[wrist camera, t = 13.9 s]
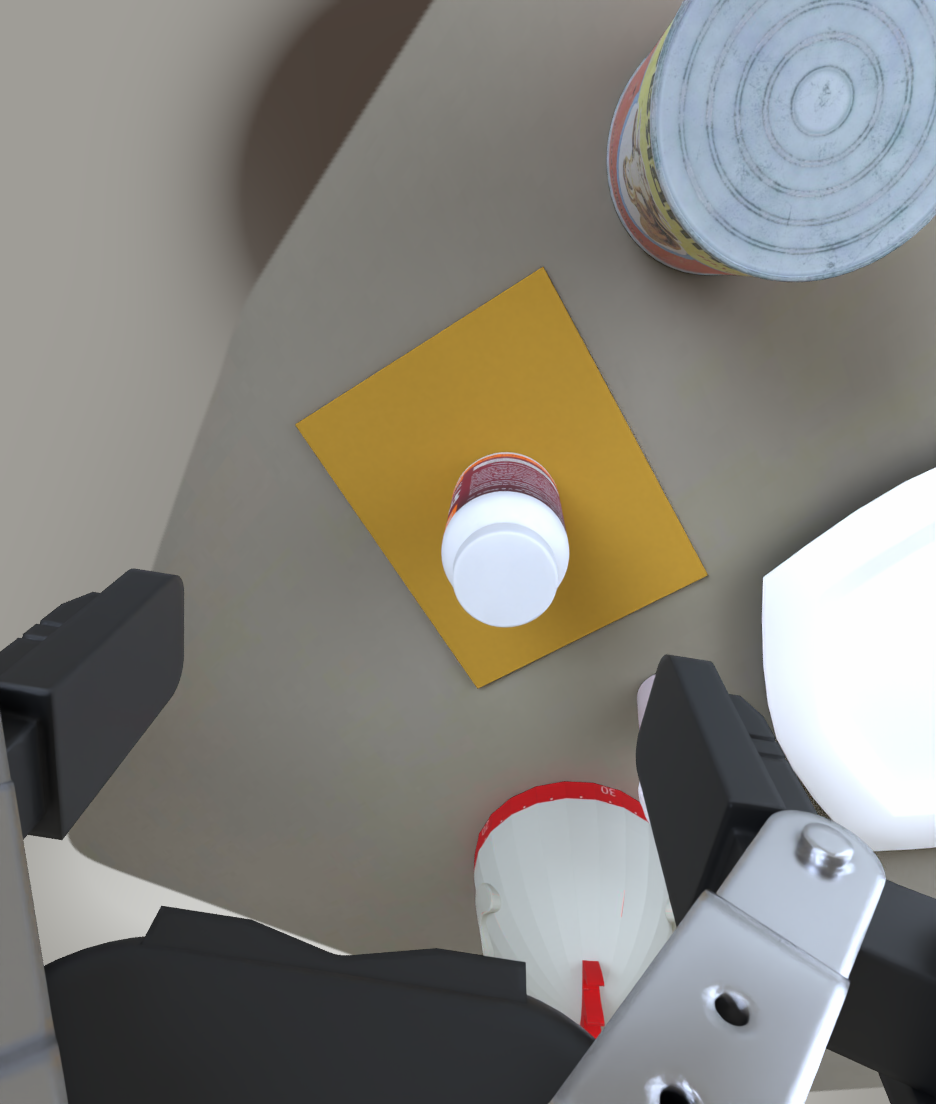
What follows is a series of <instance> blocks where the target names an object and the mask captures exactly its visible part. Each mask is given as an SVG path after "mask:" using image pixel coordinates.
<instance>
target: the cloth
mask: <svg viewBox="0 0 936 1104" xmlns="http://www.w3.org/2000/svg"><path fill="white" fill-rule="evenodd" d="M296 427H297V428H298V430H299V431H300V433H301V434H302V436H303V437H304V438H305V440H306V441H307V443H308V444H309V446H310V447H311V449H312V450H313V451H314V453H315V454H316V456H317V457H318V459H319V460H320V462H321V463H322V464H323V466H324V467H325V469H326V470H327V472H328V473H329V475H330V476H331V477H332V479H333V480H334V482H335V483H336V485H337V486H338V488H339V489H340V490H341V492H342V493H343V495H344V496H345V498H346V499H347V501H348V502H349V503H350V505H351V506H352V508H353V509H354V511H355V512H356V514H357V515H358V516H359V518H360V519H361V521H362V522H363V524H364V525H365V527H366V528H367V529H368V531H369V532H370V534H371V535H372V537H373V538H374V540H375V541H376V543H377V544H378V545H379V547H380V548H381V550H382V551H383V553H384V554H385V556H386V557H387V558H388V560H389V561H390V563H391V564H392V566H393V567H394V569H395V570H396V571H397V573H398V574H399V576H400V577H401V579H402V580H403V582H404V583H405V584H406V586H407V587H408V589H409V590H410V592H411V593H412V595H413V596H414V597H415V599H416V600H417V602H418V603H419V605H420V606H421V608H422V609H423V610H424V612H425V613H426V615H427V616H428V618H429V619H430V621H431V622H432V623H433V625H434V626H435V628H436V629H437V631H438V632H439V634H440V635H441V636H442V638H443V639H444V641H445V642H446V644H447V645H448V647H449V648H450V650H451V651H452V652H453V654H454V655H455V657H456V658H457V660H458V661H459V663H460V664H461V665H462V667H463V668H464V670H465V671H466V673H467V674H468V676H469V677H470V678H471V680H472V681H473V683H474V684H475V686H476V687H477V689H478V688H480V687H482V686H484V685H486V684H488V683H490V682H493V681H495V680H497V679H499V678H501V677H503V676H505V675H507V674H509V673H511V672H513V671H515V670H517V669H519V668H521V667H523V666H525V665H527V664H529V663H531V662H533V661H535V660H537V659H539V658H541V657H543V656H545V655H547V654H549V653H551V652H553V651H555V650H557V649H559V648H561V647H563V646H565V645H567V644H569V643H572V642H574V641H576V640H578V639H580V638H582V637H584V636H586V635H588V634H590V633H592V632H594V631H596V630H598V629H600V628H602V627H604V626H606V625H608V624H610V623H612V622H614V621H616V620H618V619H620V618H622V617H624V616H626V615H628V614H630V613H632V612H634V611H636V610H638V609H640V608H642V607H644V606H646V605H648V604H651V603H653V602H655V601H657V600H659V599H661V598H663V597H665V596H667V595H669V594H671V593H673V592H675V591H677V590H679V589H681V588H683V587H685V586H687V585H689V584H691V583H693V582H695V581H697V580H699V579H701V578H703V577H705V576H707V575H708V574H707V572H706V571H705V569H704V567H703V565H702V563H701V561H700V559H699V558H698V556H697V554H696V552H695V550H694V548H693V546H692V544H691V543H690V541H689V539H688V537H687V535H686V533H685V531H684V529H683V528H682V526H681V524H680V522H679V520H678V518H677V516H676V514H675V513H674V511H673V509H672V507H671V505H670V503H669V501H668V499H667V498H666V496H665V494H664V492H663V490H662V488H661V486H660V484H659V483H658V481H657V479H656V477H655V475H654V473H653V471H652V469H651V468H650V466H649V464H648V462H647V460H646V458H645V456H644V454H643V453H642V451H641V449H640V447H639V445H638V443H637V441H636V439H635V438H634V436H633V434H632V432H631V430H630V428H629V426H628V425H627V423H626V421H625V419H624V417H623V415H622V413H621V411H620V410H619V408H618V406H617V404H616V402H615V400H614V398H613V396H612V395H611V393H610V391H609V389H608V387H607V385H606V383H605V381H604V380H603V378H602V376H601V374H600V372H599V370H598V368H597V366H596V365H595V363H594V361H593V359H592V357H591V355H590V353H589V351H588V350H587V348H586V346H585V344H584V342H583V340H582V338H581V336H580V335H579V333H578V331H577V329H576V327H575V325H574V323H573V321H572V320H571V318H570V316H569V314H568V312H567V310H566V308H565V306H564V305H563V303H562V301H561V299H560V297H559V295H558V293H557V291H556V290H555V288H554V286H553V284H552V282H551V280H550V278H549V277H548V275H547V273H546V271H545V269H544V267H542V268H540V269H539V270H537V271H536V272H534V273H532V274H531V275H529V276H528V277H526V278H525V279H523V280H521V281H520V282H518V283H517V284H515V285H514V286H512V287H510V288H509V289H507V290H506V291H504V292H503V293H501V294H499V295H498V296H496V297H495V298H493V299H492V300H490V301H488V302H487V303H485V304H484V305H482V306H481V307H479V308H477V309H476V310H474V311H473V312H471V313H470V314H468V315H466V316H465V317H463V318H462V319H460V320H459V321H457V322H455V323H454V324H452V325H451V326H449V327H448V328H446V329H444V330H443V331H441V332H440V333H438V334H437V335H435V336H433V337H432V338H430V339H429V340H427V341H426V342H424V343H422V344H421V345H419V346H418V347H416V348H415V349H413V350H411V351H410V352H408V353H407V354H405V355H404V356H402V357H401V358H399V359H397V360H396V361H394V362H393V363H391V364H390V365H388V366H386V367H385V368H383V369H382V370H380V371H379V372H377V373H375V374H374V375H372V376H371V377H369V378H368V379H366V380H364V381H363V382H361V383H360V384H358V385H357V386H355V387H353V388H352V389H350V390H349V391H347V392H346V393H344V394H342V395H341V396H339V397H338V398H336V399H335V400H333V401H331V402H330V403H328V404H327V405H325V406H324V407H322V408H320V409H319V410H317V411H316V412H314V413H313V414H311V415H309V416H308V417H306V418H305V419H303V420H302V421H300V422H298V423H297V424H296ZM501 452H510V453H517V454H521V455H524V456H527V457H529V458H531V459H533V460H535V461H536V462H538V463H539V464H540V465H542V466H543V467H544V468H545V469H546V470H547V472H548V473H549V474H550V476H551V477H552V479H553V481H554V482H555V484H556V487H557V490H558V493H559V497H560V502H561V507H562V513H563V517H564V523H565V528H566V531H567V538H568V544H569V562H568V567H567V570H566V573H565V576H564V578H563V580H562V582H561V583H560V585H559V586H558V588H557V590H556V594H555V596H554V599H553V601H552V603H551V604H550V605H549V607H548V608H547V609H546V610H545V611H544V612H543V613H542V614H541V615H540V616H539V617H537V618H536V619H534V620H533V621H531V622H529V623H526V624H523V625H520V626H515V627H495V626H491V625H488V624H485V623H482V622H480V621H478V620H477V619H475V618H473V617H472V616H471V615H470V614H468V613H467V612H466V611H465V610H464V608H463V607H462V606H461V604H460V603H459V601H458V599H457V597H456V595H455V592H454V588H453V586H452V585H451V583H450V582H449V580H448V578H447V576H446V573H445V571H444V568H443V564H442V555H441V549H442V541H443V536H444V532H445V527H446V523H447V518H448V514H449V509H450V505H451V500H452V495H453V492H454V489H455V486H456V484H457V482H458V480H459V478H460V476H461V475H462V473H463V472H464V471H465V470H466V469H467V468H468V467H469V466H470V465H471V464H473V463H474V462H475V461H477V460H478V459H480V458H482V457H485V456H487V455H490V454H494V453H501Z"/></svg>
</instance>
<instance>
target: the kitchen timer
mask: <svg viewBox="0 0 936 1104" xmlns="http://www.w3.org/2000/svg"><path fill="white" fill-rule="evenodd" d="M474 881H475V888H476V896H475V904H476V912H477V918H478V924H479V930H480V936H481V942H482V949H483V955H484V956H490V957H496V958H502V959H509V960H515V961H522V962H526V991H527V995H529V996H532V997H534V998H536V999H538V1000H541V1001H542V1002H544V1003H546V1004H548V1005H550V1006H551V1007H553V1008H555V1009H557V1010H559V1011H560V1012H562V1013H563V1014H565V1015H566V1016H567V1017H569V1018H570V1019H572V1020H573V1021H575V1022H576V1023H577V1024H579V1025H580V1026H581V1027H583V1028H584V1029H585V1030H586V1031H587V1032H588V1033H589V1034H591V1035H592V1036H593V1037H594V1038H595V1039H596V1038H597V1037H598V1035H599V1034H600V1033H601V1031H602V1030H603V1028H604V1027H605V1026H606V1024H607V1023H608V1022H609V1020H610V1019H611V1017H612V1016H613V1015H614V1013H615V1012H616V1011H617V1009H618V1008H619V1006H620V1005H621V1004H622V1002H623V1001H624V1000H625V998H626V997H627V995H628V994H629V993H630V991H631V990H632V989H633V987H634V986H635V984H636V983H637V982H638V980H639V979H640V978H641V976H642V975H643V973H644V972H645V971H646V969H647V968H648V966H649V965H650V964H651V962H652V961H653V960H654V958H655V957H656V955H657V954H658V953H659V951H660V950H661V949H662V947H663V946H664V944H665V943H666V942H667V940H668V939H669V938H670V936H671V935H672V933H673V932H674V931H675V929H676V928H677V927H676V923H675V919H674V915H673V911H672V907H671V903H670V899H669V895H668V892H667V888H666V884H665V880H664V876H663V872H662V868H661V864H660V860H659V856H658V852H657V848H656V844H655V840H654V836H653V832H652V828H651V825H650V823H649V822H648V820H647V819H646V817H645V814H644V811H643V808H642V806H641V804H640V802H638V801H637V800H635V799H633V798H632V797H630V796H628V795H627V794H625V793H623V792H622V791H619V790H616V789H613V788H609V787H606V786H602V785H599V784H595V783H585V782H565V781H564V782H559V783H553V784H548V785H542V786H537V787H534V788H532V789H530V790H528V791H525V792H523V793H521V794H519V795H516V796H514V797H512V798H510V799H509V800H508V801H507V802H506V803H504V804H503V805H502V806H501V807H500V808H498V809H497V810H496V811H495V812H494V813H492V814H491V816H490V818H489V819H488V821H487V822H486V824H485V825H484V827H483V829H482V830H481V832H480V833H479V838H478V842H477V847H476V851H475V860H474Z"/></svg>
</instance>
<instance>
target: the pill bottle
mask: <svg viewBox="0 0 936 1104" xmlns="http://www.w3.org/2000/svg"><path fill="white" fill-rule="evenodd" d="M441 555H442V564H443V568H444V571H445V573H446V576H447V578H448V580H449V582H450V583H451V585H452V586H453V588H454V592H455V595H456V597H457V599H458V601H459V603H460V604H461V606H462V607H463V608H464V610H465V611H466V612H467V613H468V614H470V615H471V616H472V617H473V618H475V619H477V620H478V621H480V622H482V623H485V624H488V625H491V626H495V627H515V626H520V625H523V624H526V623H529V622H531V621H533V620H534V619H536V618H537V617H539V616H540V615H541V614H542V613H543V612H544V611H545V610H546V609H547V608H548V607H549V605H550V604H551V603H552V601H553V599H554V596H555V594H556V590H557V588H558V586H559V585H560V583H561V582H562V580H563V578H564V576H565V573H566V570H567V567H568V562H569V544H568V538H567V531H566V528H565V523H564V517H563V513H562V507H561V502H560V497H559V493H558V490H557V487H556V484H555V482H554V481H553V479H552V477H551V476H550V474H549V473H548V472H547V470H546V469H545V468H544V467H543V466H542V465H540V464H539V463H538V462H536V461H535V460H533V459H531V458H529V457H527V456H524V455H521V454H517V453H510V452H501V453H494V454H490V455H487V456H485V457H482V458H480V459H478V460H477V461H475V462H474V463H473V464H471V465H470V466H469V467H468V468H467V469H466V470H465V471H464V472H463V473H462V475H461V476H460V478H459V480H458V482H457V484H456V486H455V489H454V492H453V495H452V500H451V505H450V509H449V514H448V518H447V523H446V527H445V532H444V536H443V541H442V549H441Z"/></svg>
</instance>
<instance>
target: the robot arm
mask: <svg viewBox="0 0 936 1104" xmlns="http://www.w3.org/2000/svg"><path fill="white" fill-rule="evenodd" d="M183 661H184V586H183V582H182V579H181V578H180V577H179V576H178V575H171V574H165V573H159V572H153V571H146V570H140V569H130V570H128V571H127V572H126V573H124V574H123V575H122V576H121V577H120V578H118V579H117V580H116V581H115V582H113V583H112V584H111V585H110V586H109V587H107V588H106V589H105V590H104V591H102V592H101V593H96V592H92V593H89V594H86V595H84V596H81V597H79V598H76V599H73V600H71V601H68V602H66V603H63V604H61V605H60V606H59V607H57V608H56V609H55V610H53V611H52V612H51V613H50V614H48V615H47V616H46V617H44V618H43V619H42V620H41V622H40V624H35V625H34V626H33V627H32V628H30V629H29V630H28V631H27V632H25V633H24V634H23V637H22V638H17V639H16V640H15V641H14V642H12V643H11V644H10V645H8V646H7V647H6V648H5V649H3V650H2V651H1V652H0V1104H804V1103H805V1101H806V1098H807V1095H808V1093H809V1090H810V1088H811V1085H812V1082H813V1080H814V1077H815V1075H816V1072H817V1070H818V1067H819V1064H820V1062H821V1059H822V1057H823V1054H824V1051H825V1049H826V1048H827V1049H829V1050H831V1051H833V1052H835V1053H838V1054H840V1055H842V1056H844V1057H846V1058H849V1059H851V1060H853V1061H855V1062H857V1063H859V1064H862V1065H864V1066H866V1067H868V1068H870V1069H873V1070H875V1071H877V1072H878V1073H879V1076H880V1078H881V1081H882V1083H883V1086H884V1088H885V1091H886V1093H887V1096H888V1098H889V1101H890V1103H891V1104H936V899H934V898H932V897H929V896H926V895H924V894H921V893H919V892H916V891H913V890H911V889H908V888H905V887H903V886H900V885H898V884H896V883H893V882H891V881H888V880H886V878H885V871H884V869H883V866H882V864H881V862H880V860H879V859H878V857H877V856H876V854H875V853H874V852H873V851H872V849H871V848H870V847H869V846H868V845H867V844H866V843H865V842H864V841H862V840H861V839H860V838H859V837H858V836H856V835H855V834H854V833H852V832H851V831H849V830H848V829H846V828H845V827H843V826H841V825H840V824H838V823H836V822H834V821H832V820H830V819H827V818H825V817H822V816H820V815H818V814H817V812H816V810H815V809H814V807H813V805H812V803H811V801H810V800H809V798H808V796H807V794H806V792H805V791H804V789H803V787H802V785H801V783H800V782H799V780H798V778H797V776H796V774H795V773H794V771H793V769H792V767H791V765H790V764H789V762H788V761H786V760H785V755H784V753H783V751H782V749H781V747H780V746H779V744H778V742H775V737H774V735H773V733H772V731H771V729H770V728H769V726H768V724H767V722H766V721H765V719H764V717H763V716H762V715H761V714H760V713H759V712H758V711H757V710H755V709H754V708H753V707H752V706H751V705H750V704H749V703H748V702H747V701H745V700H744V699H743V698H742V697H741V696H738V695H732V694H728V692H727V690H726V688H725V686H724V684H723V682H722V680H721V678H720V676H719V674H718V672H717V670H716V668H715V666H714V665H713V663H712V662H710V661H705V660H699V659H693V658H686V657H680V656H674V655H667V654H666V655H664V656H663V657H662V659H661V661H660V663H659V665H658V668H657V671H656V675H655V678H654V682H653V685H652V688H651V692H650V695H649V699H648V702H647V706H646V709H645V713H644V716H643V719H642V723H641V726H640V730H639V734H638V739H637V746H636V767H637V773H638V776H639V780H640V784H641V788H642V792H643V796H644V800H645V804H646V808H647V812H648V816H649V820H650V824H651V828H652V832H653V836H654V840H655V844H656V848H657V852H658V856H659V860H660V864H661V868H662V872H663V876H664V880H665V884H666V888H667V892H668V895H669V899H670V903H671V907H672V911H673V915H674V919H675V923H676V927H677V928H676V929H675V931H674V932H673V933H672V935H671V936H670V938H669V939H668V940H667V942H666V943H665V944H664V946H663V947H662V949H661V950H660V951H659V953H658V954H657V955H656V957H655V958H654V960H653V961H652V962H651V964H650V965H649V966H648V968H647V969H646V971H645V972H644V973H643V975H642V976H641V978H640V979H639V980H638V982H637V983H636V984H635V986H634V987H633V989H632V990H631V991H630V993H629V994H628V995H627V997H626V998H625V1000H624V1001H623V1002H622V1004H621V1005H620V1006H619V1008H618V1009H617V1011H616V1012H615V1013H614V1015H613V1016H612V1017H611V1019H610V1020H609V1022H608V1023H607V1024H606V1026H605V1027H604V1028H603V1030H602V1031H601V1033H600V1034H599V1035H598V1037H597V1038H596V1039H595V1038H594V1037H593V1036H592V1035H591V1034H589V1033H588V1032H587V1031H586V1030H585V1029H584V1028H583V1027H581V1026H580V1025H579V1024H577V1023H576V1022H575V1021H573V1020H572V1019H570V1018H569V1017H567V1016H566V1015H565V1014H563V1013H562V1012H560V1011H559V1010H557V1009H555V1008H553V1007H551V1006H550V1005H548V1004H546V1003H544V1002H542V1001H541V1000H538V999H536V998H534V997H532V996H529V995H527V991H526V962H522V961H515V960H509V959H502V958H496V957H490V956H483V955H477V954H470V953H464V952H457V951H451V950H444V949H438V948H435V949H422V950H410V951H398V952H385V953H373V954H361V955H336V954H333V953H329V952H327V951H325V950H322V949H320V948H318V947H315V946H313V945H311V944H308V943H306V942H303V941H301V940H299V939H296V938H294V937H291V936H289V935H287V934H284V933H282V932H280V931H277V930H275V929H272V928H270V927H268V926H265V925H263V924H260V923H258V922H256V921H253V920H250V919H244V918H237V917H231V916H223V915H217V914H210V913H204V912H198V911H191V910H185V909H179V908H172V907H166V906H161V908H160V910H159V911H158V913H157V915H156V917H155V919H154V921H153V923H152V925H151V926H150V928H149V930H148V932H147V934H146V936H145V937H135V938H128V939H123V940H118V941H112V942H107V943H104V944H100V945H97V946H93V947H90V948H86V949H83V950H80V951H78V952H75V953H73V954H70V955H67V956H65V957H62V958H60V959H57V960H55V961H53V962H51V963H49V964H47V965H45V966H44V965H43V959H42V953H41V947H40V940H39V934H38V928H37V922H36V916H35V910H34V903H33V898H32V892H31V885H30V879H29V873H28V867H27V861H26V854H25V849H24V842H23V840H24V838H25V837H26V836H27V835H33V836H39V837H46V838H52V839H59V840H63V838H64V837H65V836H66V834H67V833H68V832H69V830H70V829H71V828H72V827H73V825H74V824H75V823H76V821H77V820H78V819H79V817H80V816H81V815H82V813H83V812H84V811H85V810H86V808H87V807H88V806H89V804H90V803H91V802H92V800H93V799H94V798H95V796H96V795H97V794H98V793H99V791H100V790H101V789H102V787H103V786H104V785H105V783H106V782H107V781H108V779H109V778H110V777H111V776H112V774H113V773H114V772H115V770H116V769H117V768H118V766H119V765H120V764H121V762H122V761H123V760H124V759H125V757H126V756H127V755H128V753H129V752H130V751H131V749H132V748H133V747H134V745H135V744H136V743H137V742H138V740H139V739H140V738H141V736H142V735H143V734H144V732H145V731H146V730H147V728H148V727H149V726H150V725H151V723H152V722H153V721H154V719H155V718H156V717H157V715H158V714H159V713H160V712H161V710H162V709H163V708H164V706H165V705H166V704H167V702H168V701H169V700H170V698H171V697H172V696H173V694H174V692H175V690H176V688H177V686H178V683H179V681H180V677H181V673H182V669H183Z"/></svg>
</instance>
